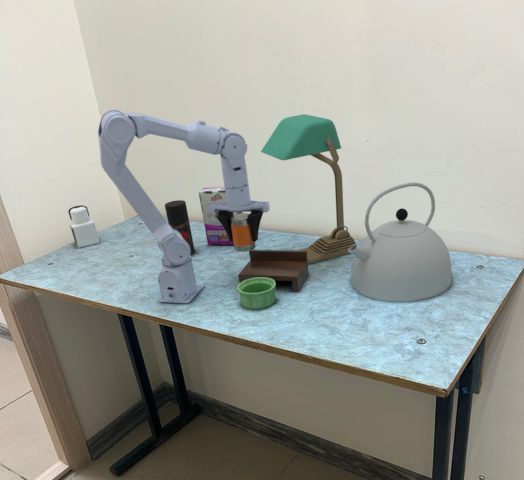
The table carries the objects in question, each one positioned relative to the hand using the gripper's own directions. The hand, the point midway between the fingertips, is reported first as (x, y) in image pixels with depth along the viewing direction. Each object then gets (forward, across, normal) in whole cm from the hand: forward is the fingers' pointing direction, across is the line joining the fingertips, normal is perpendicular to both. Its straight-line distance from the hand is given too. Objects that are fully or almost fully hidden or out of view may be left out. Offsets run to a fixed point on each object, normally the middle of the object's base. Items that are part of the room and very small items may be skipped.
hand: (244, 240), depth 135 cm
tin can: (+2, 0, 0) cm, 2 cm away
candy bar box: (+10, +16, -24) cm, 31 cm away
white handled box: (+10, +66, -24) cm, 71 cm away
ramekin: (+10, -7, +14) cm, 18 cm away
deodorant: (+10, +26, -15) cm, 32 cm away
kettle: (+10, -37, 0) cm, 39 cm away
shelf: (+10, -8, +2) cm, 13 cm away
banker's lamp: (+10, -14, -15) cm, 23 cm away
